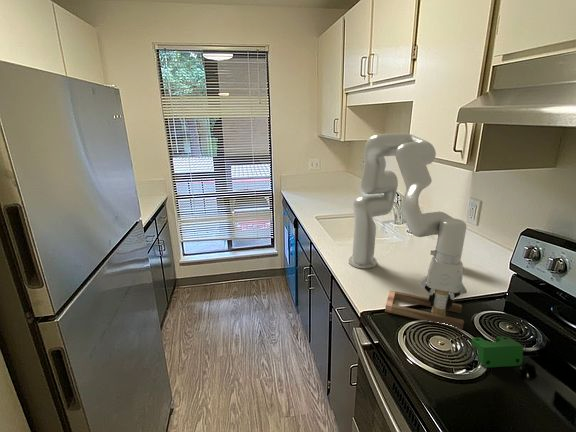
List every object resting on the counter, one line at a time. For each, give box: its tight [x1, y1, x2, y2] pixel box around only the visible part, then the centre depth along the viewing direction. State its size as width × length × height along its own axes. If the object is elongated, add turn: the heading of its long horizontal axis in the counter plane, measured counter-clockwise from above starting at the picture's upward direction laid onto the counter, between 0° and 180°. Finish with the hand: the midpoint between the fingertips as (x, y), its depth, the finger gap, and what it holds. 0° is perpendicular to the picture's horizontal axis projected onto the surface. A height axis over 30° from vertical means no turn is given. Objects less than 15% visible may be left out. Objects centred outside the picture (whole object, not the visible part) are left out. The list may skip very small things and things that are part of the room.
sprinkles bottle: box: [430, 289, 450, 316], centre depth 109 cm, size 5×5×14 cm
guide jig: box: [384, 290, 465, 330], centre depth 113 cm, size 11×24×2 cm, turn 66°
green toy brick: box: [471, 335, 524, 368], centre depth 91 cm, size 12×6×9 cm, turn 89°
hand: (439, 305), depth 110 cm, fingers closed on sprinkles bottle, 4 cm apart
